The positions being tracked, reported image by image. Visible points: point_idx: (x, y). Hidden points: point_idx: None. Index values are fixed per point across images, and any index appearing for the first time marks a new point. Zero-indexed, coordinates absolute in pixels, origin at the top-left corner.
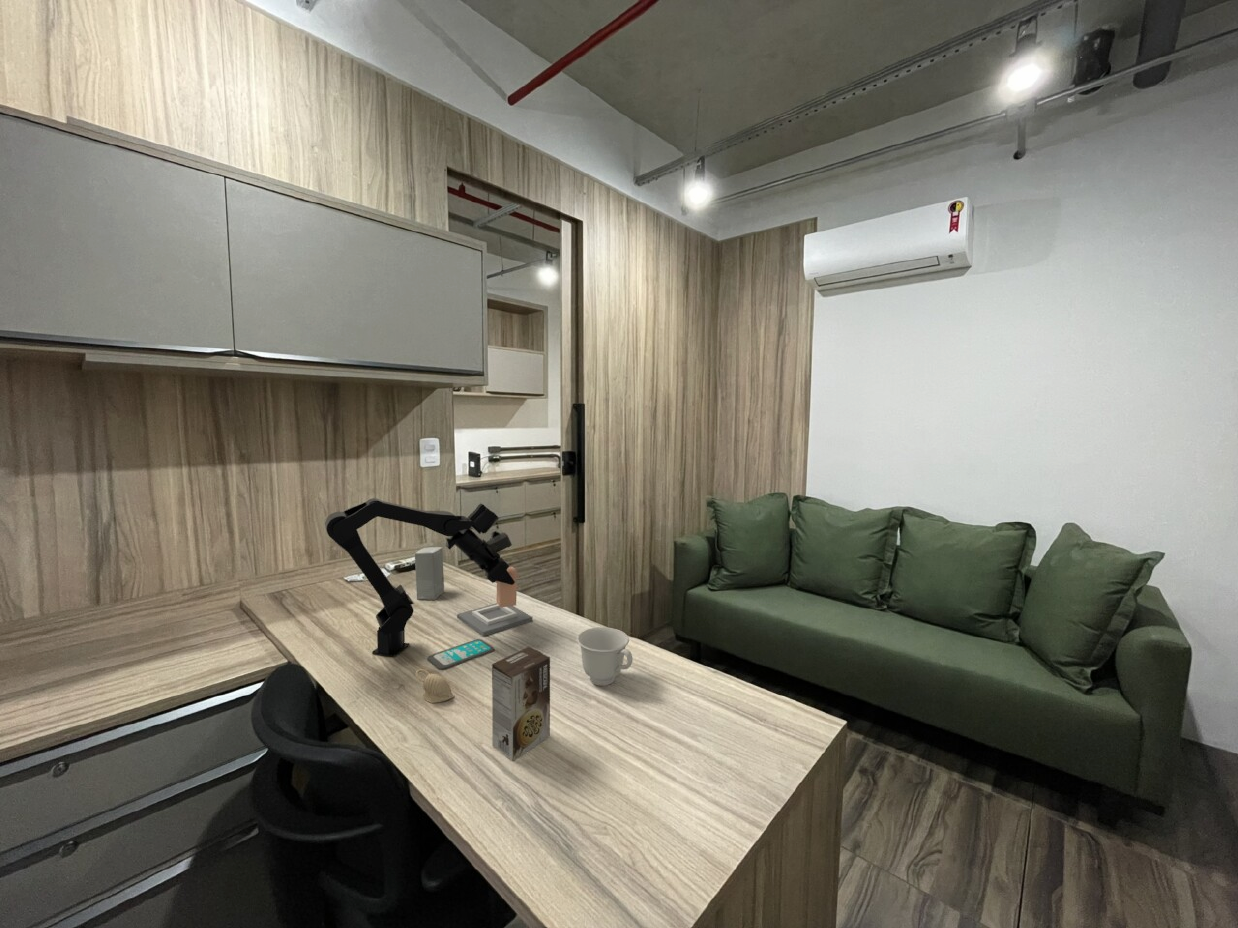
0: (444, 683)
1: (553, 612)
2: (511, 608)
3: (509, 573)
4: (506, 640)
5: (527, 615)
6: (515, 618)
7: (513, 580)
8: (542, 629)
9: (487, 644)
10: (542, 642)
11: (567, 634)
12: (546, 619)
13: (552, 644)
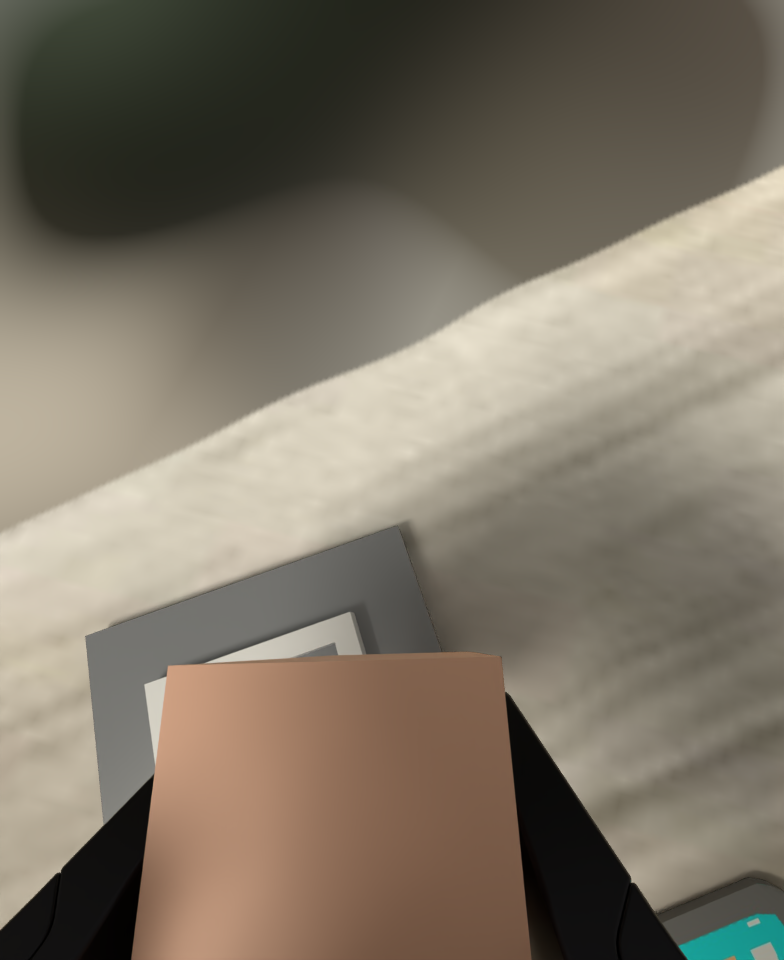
0: None
1: (336, 398)
2: (220, 619)
3: (515, 847)
4: (633, 754)
5: (367, 548)
6: (382, 631)
7: (529, 726)
8: (535, 505)
9: (698, 919)
10: (709, 546)
11: (636, 399)
12: (411, 453)
13: (747, 500)
